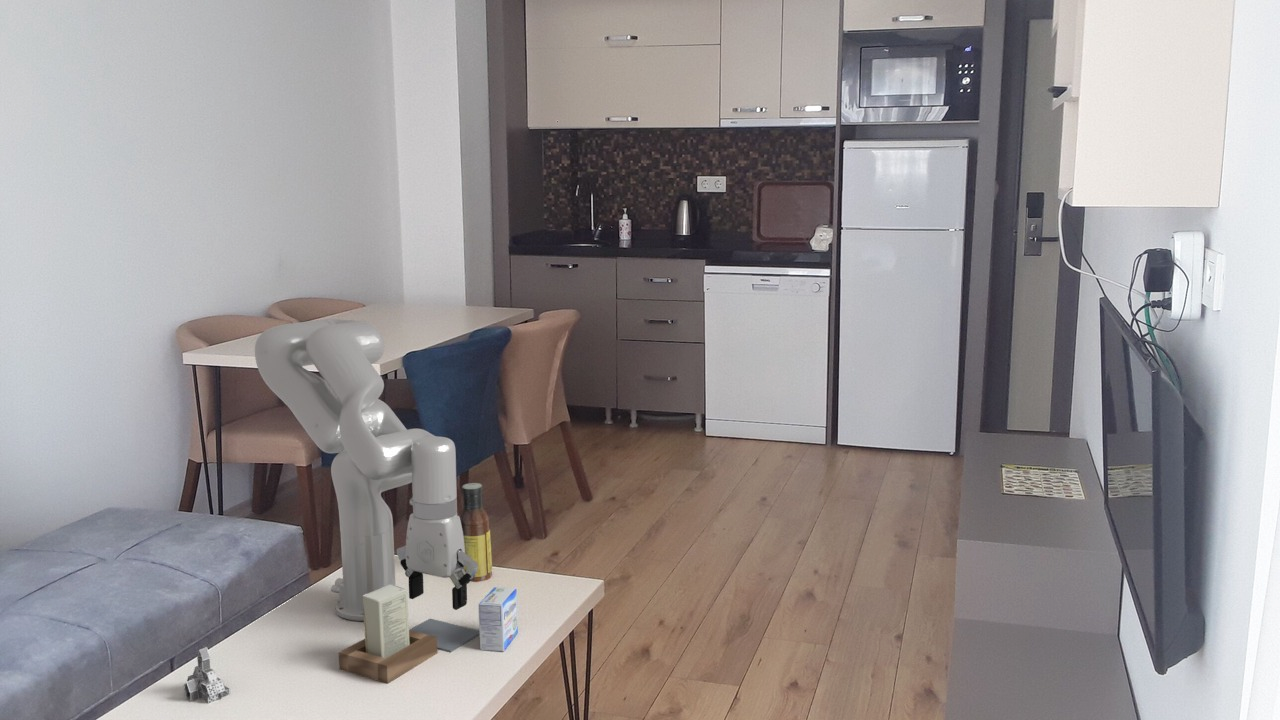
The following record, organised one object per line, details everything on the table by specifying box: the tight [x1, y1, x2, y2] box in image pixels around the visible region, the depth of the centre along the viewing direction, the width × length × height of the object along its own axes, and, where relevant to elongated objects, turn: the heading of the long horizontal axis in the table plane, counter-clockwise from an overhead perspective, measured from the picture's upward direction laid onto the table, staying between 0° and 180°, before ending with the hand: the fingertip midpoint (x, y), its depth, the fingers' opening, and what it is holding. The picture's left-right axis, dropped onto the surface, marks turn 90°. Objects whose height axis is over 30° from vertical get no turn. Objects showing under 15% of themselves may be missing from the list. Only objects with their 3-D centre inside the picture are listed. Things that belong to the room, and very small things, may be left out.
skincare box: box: [363, 584, 410, 658], centre depth 176 cm, size 6×4×12 cm
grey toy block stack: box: [183, 646, 231, 704], centre depth 164 cm, size 9×9×8 cm
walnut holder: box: [338, 629, 439, 684], centre depth 176 cm, size 10×12×3 cm
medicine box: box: [478, 586, 519, 652], centre depth 183 cm, size 8×4×9 cm, turn 168°
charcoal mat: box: [409, 618, 480, 653], centre depth 186 cm, size 12×9×1 cm
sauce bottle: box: [460, 482, 493, 583], centre depth 211 cm, size 7×6×20 cm
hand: (437, 601), depth 185 cm, fingers open, 9 cm apart
